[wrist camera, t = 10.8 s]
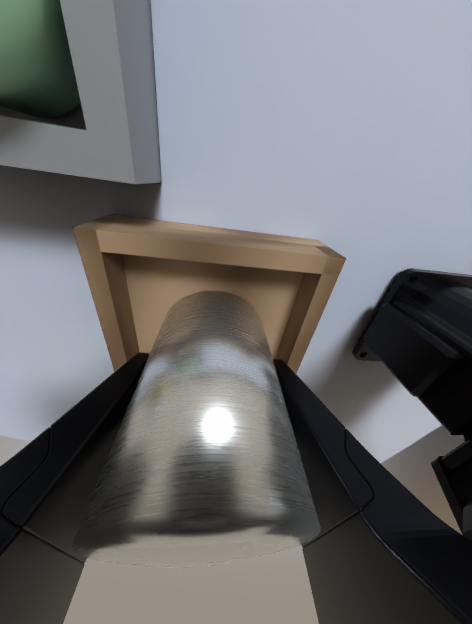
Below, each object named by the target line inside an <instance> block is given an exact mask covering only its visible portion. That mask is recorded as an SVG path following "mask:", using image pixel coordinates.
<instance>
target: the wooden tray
mask: <svg viewBox="0 0 472 624" xmlns="http://www.w3.org/2000/svg"><path fill="white" fill-rule="evenodd" d="M72 229H73V232H74V236H75V239H76V243H77V246H78V249H79V253H80V256H81V260H82V263H83V266H84V270H85V273H86V277H87V280H88V283H89V287H90V290H91V294H92V297H93V300H94V304H95V307H96V310H97V314H98V317H99V321H100V324H101V327H102V331H103V334H104V338H105V341H106V344H107V348H108V351H109V355H110V358H111V361H112V365H113V368H114V372H115V371H117V370H118V369H119V368H120V367H121V366H122V365H124V364H125V363H126V362H127V361H128V360H130V359H131V358H132V357H133V356H134V355H136V354H137V353H139V352H143V353H149V355H150V352H151V350H152V347H153V345H154V342H155V340H156V337H157V335H158V333H159V330H160V328H161V325H162V323H163V320H164V318H165V316H166V314H167V312H168V310H169V309H170V308H171V307H172V306H173V305H174V304H175V303H176V302H177V301H179V300H180V299H182V298H183V297H185V296H188V295H190V294H193V293H196V292H201V291H210V290H212V291H224V292H228V293H232V294H234V295H237V296H239V297H241V298H243V299H245V300H246V301H247V302H249V303H250V304H251V305H252V306H253V307H254V308H255V309H256V311H257V312H258V314H259V315H260V317H261V320H262V323H263V327H264V330H265V334H266V337H267V341H268V344H269V348H270V351H271V355H272V358H273V359H282V360H283V361H284V362H285V363H286V364H287V365H288V366H289V367H290V368H291V369H292V371H293V372H294V373H295V374H296V373H297V371H298V368H299V366H300V364H301V361H302V359H303V357H304V354H305V352H306V350H307V348H308V345H309V343H310V341H311V338H312V336H313V334H314V331H315V329H316V327H317V325H318V322H319V320H320V318H321V315H322V313H323V311H324V308H325V306H326V304H327V302H328V299H329V297H330V295H331V292H332V290H333V288H334V285H335V283H336V281H337V278H338V276H339V274H340V272H341V269H342V267H343V265H344V262H345V260H346V258H345V257H343V256H342V255H340V254H338V253H337V252H335V251H334V250H332V249H331V248H329V247H327V246H326V245H324V244H323V243H321V242H320V241H318V240H313V239H305V238H296V237H288V236H280V235H272V234H264V233H256V232H248V231H240V230H232V229H223V228H215V227H207V226H199V225H191V224H183V223H175V222H167V221H159V220H150V219H142V218H134V217H126V216H118V215H108V216H105V217H102V218H99V219H96V220H93V221H90V222H87V223H84V224H81V225H78V226H75V227H72Z"/></svg>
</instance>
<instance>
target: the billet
mask: <svg viewBox="0 0 472 624" xmlns="http://www.w3.org/2000/svg"><path fill="white" fill-rule="evenodd" d="M320 530H321V527H320V524H319V520H318V517H317V513H316V510H315V506H314V503H313V499H312V496H311V492H310V489H309V485H308V482H307V478H306V475H305V471H304V468H303V464H302V461H301V457H300V453H299V450H298V446H297V443H296V439H295V436H294V432H293V429H292V425H291V422H290V418H289V415H288V411H287V408H286V404H285V401H284V397H283V394H282V390H281V387H280V383H279V380H278V376H277V372H276V369H275V365H274V362H273V358H272V355H271V351H270V348H269V344H268V341H267V337H266V334H265V330H264V327H263V323H262V320H261V317H260V315H259V314H258V312H257V311H256V309H255V308H254V307H253V306H252V305H251V304H250V303H249V302H247V301H246V300H245V299H243V298H241V297H239V296H237V295H234V294H232V293H228V292H224V291H212V290H210V291H201V292H196V293H193V294H190V295H188V296H185V297H183V298H182V299H180V300H179V301H177V302H176V303H175V304H174V305H173V306H172V307H171V308H170V309H169V310H168V312H167V314H166V316H165V318H164V320H163V323H162V325H161V328H160V330H159V333H158V335H157V337H156V340H155V342H154V345H153V347H152V350H151V352H150V355H149V357H148V360H147V362H146V364H145V367H144V369H143V372H142V374H141V377H140V379H139V382H138V384H137V387H136V389H135V391H134V394H133V396H132V399H131V401H130V404H129V406H128V409H127V411H126V414H125V416H124V418H123V421H122V423H121V426H120V428H119V431H118V433H117V436H116V438H115V440H114V443H113V445H112V448H111V450H110V453H109V455H108V458H107V460H106V463H105V465H104V467H103V470H102V472H101V475H100V477H99V480H98V482H97V485H96V487H95V490H94V492H93V494H92V497H91V499H90V502H89V504H88V507H87V509H86V512H85V514H84V517H83V519H82V521H81V524H80V526H79V529H78V531H77V534H76V536H75V539H74V541H73V544H72V548H73V551H75V552H76V553H77V554H79V555H81V556H83V557H86V558H89V559H94V560H98V561H103V562H110V563H118V564H131V565H186V564H201V563H213V562H222V561H230V560H238V559H244V558H250V557H256V556H261V555H266V554H271V553H275V552H279V551H283V550H286V549H289V548H293V547H296V546H298V545H301V544H304V543H306V542H308V541H310V540H312V539H313V538H315V537H316V536H317V535H318V534H319V533H320Z"/></svg>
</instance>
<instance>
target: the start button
mask: <svg viewBox="0 0 472 624" xmlns="http://www.w3.org/2000/svg"><path fill="white" fill-rule="evenodd" d="M80 102H81V100H80V96H79V91H78V86H77V81H76V76H75V71H74V67H73V62H72V57H71V52H70V47H69V42H68V38H67V33H66V28H65V23H64V18H63V13H62V9H61V4H60V0H0V106H2V107H5V108H8V109H11V110H14V111H17V112H20V113H23V114H27V115H31V116H35V117H44V118H47V117H56V116H60V115H64V114H66V113H68V112H69V111H71V110H73V109H74V108H75V107H76V106H77V105H78V104H79V103H80Z"/></svg>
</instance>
